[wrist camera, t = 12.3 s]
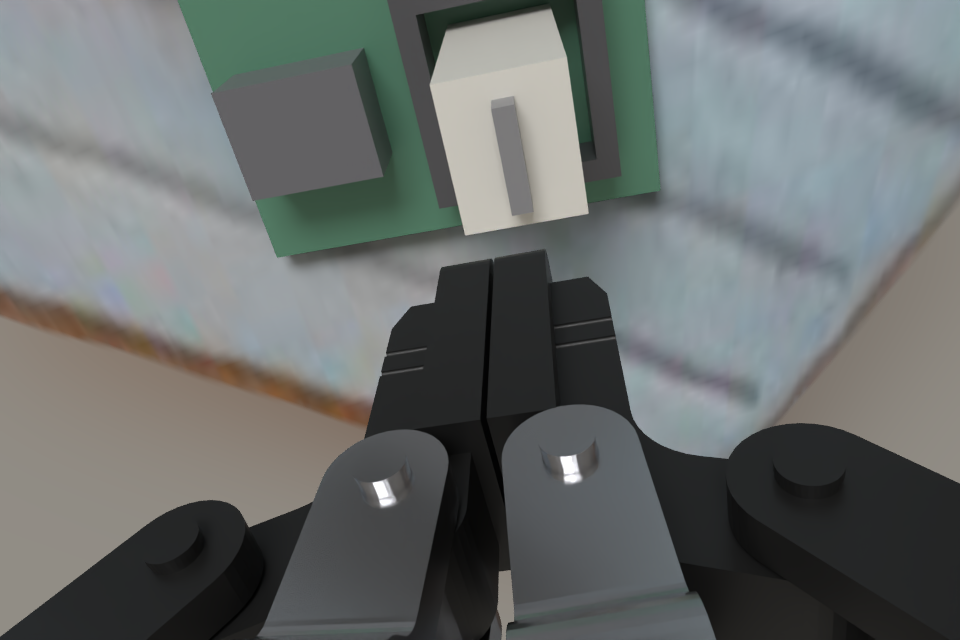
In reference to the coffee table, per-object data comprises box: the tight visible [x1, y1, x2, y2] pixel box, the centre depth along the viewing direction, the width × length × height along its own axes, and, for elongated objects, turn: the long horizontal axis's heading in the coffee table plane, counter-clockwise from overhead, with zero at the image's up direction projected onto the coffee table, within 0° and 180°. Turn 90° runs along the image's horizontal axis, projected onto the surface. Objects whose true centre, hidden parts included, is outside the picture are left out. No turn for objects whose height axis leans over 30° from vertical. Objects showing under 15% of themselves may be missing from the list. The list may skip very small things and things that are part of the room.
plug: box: [430, 3, 589, 236], centre depth 24 cm, size 4×4×9 cm
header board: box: [178, 0, 660, 258], centre depth 27 cm, size 16×11×4 cm
